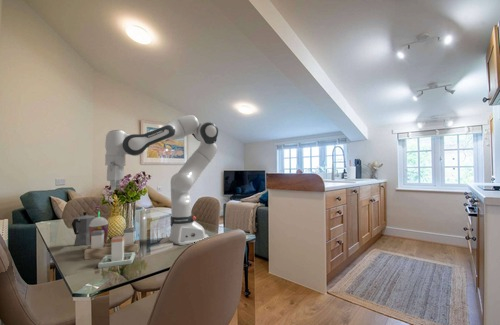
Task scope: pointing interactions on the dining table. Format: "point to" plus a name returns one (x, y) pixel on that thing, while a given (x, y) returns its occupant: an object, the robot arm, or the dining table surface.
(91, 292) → the dining table surface
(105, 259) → the tray
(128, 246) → the socket strip
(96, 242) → the block
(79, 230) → the coffeepot
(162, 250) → the dining table surface
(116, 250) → the block
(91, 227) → the smoothie
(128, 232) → the block
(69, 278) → the dining table surface
